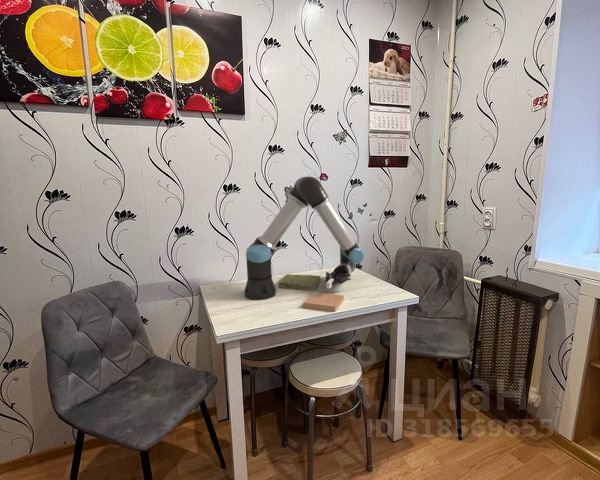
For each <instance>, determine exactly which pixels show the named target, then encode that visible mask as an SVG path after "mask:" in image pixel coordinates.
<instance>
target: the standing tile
mask: <svg viewBox="0 0 600 480" xmlns="http://www.w3.org/2000/svg"><path fill="white" fill-rule="evenodd" d="M344 301H345V295H341V294H335V293H334V294H333V293H332V294H331V293H326V292H325V293H324V292H313V293H312V294H311V295H310V296H309V297H308V298H307V299H306V300H305V301H304V302H303V308H305V309H313V310H319V311H327V312H335V313H336V312H337V310H338V309H339V308H340V307H341V305H342V303H343V302H344Z"/></svg>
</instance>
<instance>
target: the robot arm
mask: <svg viewBox="0 0 600 480" xmlns="http://www.w3.org/2000/svg"><path fill="white" fill-rule="evenodd" d="M329 199H330V197H329V194H328V193H327V192H326V190H325V188H324V187H323V185H322V183H321V182H320V180H318V178H316V177H314V176H302V177H300V178H298V179H297V180H296V181H295V182H294V186H293V187H292V189H291V190H290V191H289V193H288V198H287V201H286V202H285V203H284V205H282V207H281V208H280V210H279V211H278V213H277V214H276V216H275V217H274V219H273V220H272V221H271V223H270V224H269V225H268V227H267V228H266V230H265V231H264V232H263V234H262V235H261V236H257V237H256V239H255V240H254V241H253V242H252V243H251V244H250V245H249V246H248V247H247V248H246V251H245V257H246V271H247V272H246V274H247V275H246V276H247V279H246V284H245V288H244V297H245V298H246V299H249V300H257V301H260V300H267V299H271V298H273V297H275V296H276V295H277V289H276V286H275V282H274V281H273V274H272V272H273V271H272V256H273V254H275V252H276V251H277V248H276V246H277V244H278V243H279V241H280V240H281V239H282V238H283V236H284V235H285V233H287V231H288V229H289V227H290V226H291V225H292V223H294V221H295V219H297V216H298V215H299V214H300V212H301V211H302V210H303V209H305V208H308V207H309V206H310V208H311V209H314V210H315V211H316V213H317V214H318V215H319V217H320V218H321V220H322V221H323V223H324V225H325V226H326V228H327V229H328V231H329V232H330V233H331V235H332V236H333V237H334V239H335V241H336V242H337V244H338V245H339V264H338V265H337V266H336V267H335V268H334V269H333V271H332V272H328V271H326V272H325V283H326V289H329V290H330V289H331V288H332V287H333V286H335V285H337V284H338V285H341V284H343V283H345V282H347V281H350V280H351V279H352V277H351V274H352V273H353V272H355V269H356V267H357V265H356V264H360V263H362V262H363V261H364V260H365V256H366V255H365V252H364V251H363V250H362V248H360V247H359V245H358V243H357V242H356V241H355V239H354V238H353V236H352V234H351V233H350V231H349V229H348V228H347V226H346V225H345V223H344V221H342V218H341V217H340V216H339V215H338V213H337V212H336V210H335V208H334V206H332V203H331V202H330V200H329Z"/></svg>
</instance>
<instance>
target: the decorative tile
mask: <svg viewBox="0 0 600 480" xmlns="http://www.w3.org/2000/svg"><path fill="white" fill-rule="evenodd" d="M321 279H322V278H321V275H313V274H311V275H310V274H291V273H287V274H285V275H284V276H283V277H282V278H281V279H280V281H279V283H278V289H289V290H299V291H316V290H317V288H318V286H319V285H320V282H321Z"/></svg>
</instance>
